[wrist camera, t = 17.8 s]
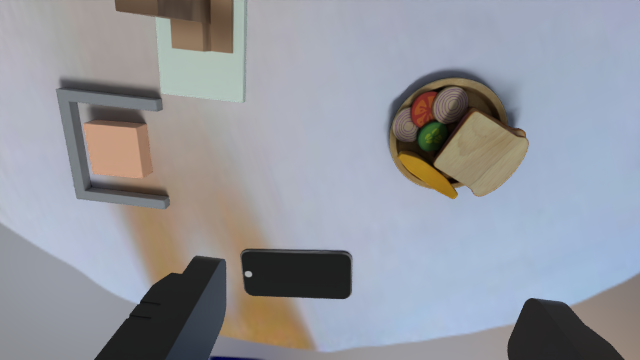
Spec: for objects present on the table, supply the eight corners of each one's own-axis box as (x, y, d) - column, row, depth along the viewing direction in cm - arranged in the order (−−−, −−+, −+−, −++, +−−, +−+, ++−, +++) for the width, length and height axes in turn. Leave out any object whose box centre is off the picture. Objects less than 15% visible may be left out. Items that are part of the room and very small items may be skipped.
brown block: (181, -43, 32) (105, -85, 21) (233, -38, 32) (182, -77, 21) (185, 47, 35) (120, 48, 24) (233, 53, 35) (188, 56, 24)
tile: (98, 118, 40) (83, 123, 37) (148, 123, 39) (136, 128, 37) (106, 166, 42) (93, 173, 39) (154, 170, 42) (142, 178, 39)
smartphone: (239, 250, 44) (352, 253, 43) (240, 247, 45) (352, 250, 44) (244, 296, 47) (351, 300, 46) (246, 292, 48) (351, 296, 47)
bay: (64, 87, 38) (55, 89, 37) (161, 99, 38) (156, 100, 37) (83, 194, 43) (76, 198, 42) (169, 205, 43) (164, 209, 42)
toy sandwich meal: (444, 50, 34) (459, 51, 30) (533, 130, 37) (559, 142, 32) (365, 143, 39) (368, 156, 34) (450, 209, 41) (463, 229, 37)
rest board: (155, -45, 33) (150, -47, 32) (247, -35, 32) (244, -37, 31) (165, 92, 37) (161, 93, 37) (245, 101, 37) (242, 102, 36)
